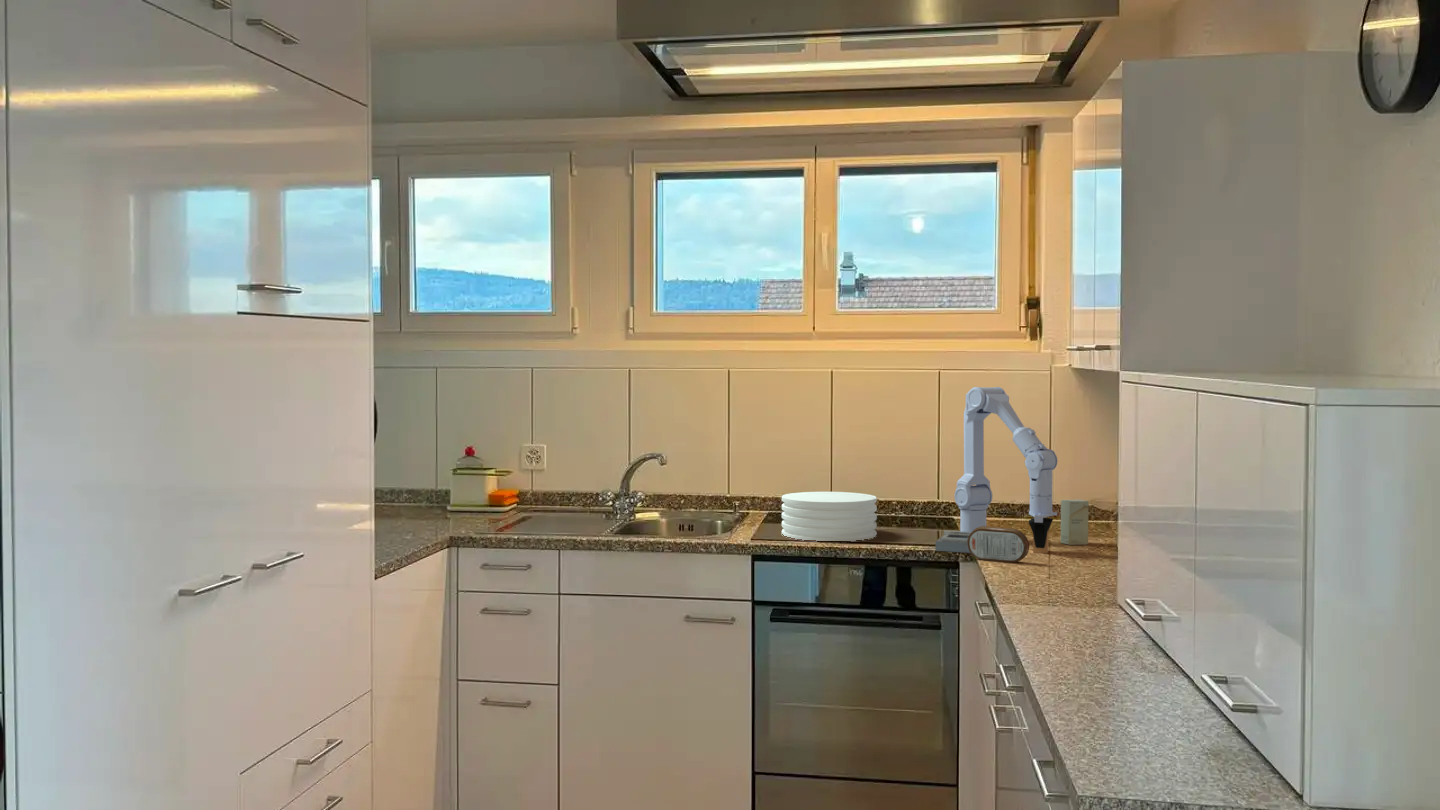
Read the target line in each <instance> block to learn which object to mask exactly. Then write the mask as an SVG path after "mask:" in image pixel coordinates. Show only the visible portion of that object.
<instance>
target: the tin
mask: <svg viewBox="0 0 1440 810" xmlns="http://www.w3.org/2000/svg"><path fill="white" fill-rule="evenodd" d="M967 545H968V549H969V551H970V553H969V554H971V555H972V556H973V557H974V558H975V559H978V560H981V561H988V562H989V561H990V562H1002V563H1011V564H1012V563H1013V564H1014V563H1018V562H1020V561H1022V560H1023V559H1025V558H1026V557H1027V555H1028V553H1029V550H1030V543H1029V540H1028V537H1027V536H1026V534H1024V532H1022V531H1021V530H1019V529H1016V528H1009V527H998V526H997V527H996V526H988V525H986V526H981V527H978V528H976V529H974V530H973V531H972V532H971V533H970V535H969V537H968V540H967Z"/></svg>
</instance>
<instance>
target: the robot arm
mask: <svg viewBox="0 0 1440 810" xmlns="http://www.w3.org/2000/svg"><path fill="white" fill-rule="evenodd" d="M991 414H994V415H997V417H999V419H1000V420H1001V421H1002V423H1004V425H1005V426H1006V427H1007V429H1009V430H1010V432H1011V433H1012V434H1013V436H1012V441H1013V443H1014V444H1015V446H1016V447H1017V448H1018V450H1019V451H1020V452H1021V454H1022V455H1023V456H1024V458H1025V460H1024V464H1025V465H1024V466H1025V468H1026V469H1027V474H1028V478H1029V511H1028V515H1029V516H1031V517H1032V518H1030V519H1029V520H1028V525H1029V526H1030V528H1031V531H1032V534H1033V535H1032V536H1034V541H1035V546H1036V548H1044V547H1045V543H1046V537H1047V532H1048V533H1049V532H1050V528H1051V524H1052V522H1053V521H1054V518H1051V517H1053V516H1057V515H1058V512H1057V511H1056V512H1055V511H1053V484H1054V483H1053V480H1054V478H1053V470H1054V471H1055V469H1056V468H1057V465H1058V457H1057V455H1056V453H1055V451H1054V450H1053V449H1051V448H1047V446H1046V445H1045V444H1044V443H1042V441H1041V440H1040V439H1039V437H1038V436H1037V435H1036V434H1037V433H1036V430H1034V429H1032V428H1030V427H1025V425H1024V424H1023V423H1022V421H1021V419H1020V417H1019V416H1018V414H1017V413H1016V411H1015V410H1014V408H1013V407H1012V405H1011V403H1010V396H1009V395H1008V394H1007V393H1006V391H1005V390H1004V388H1002V387H1000V386H995V387H988V386H987V387H985V386H984V387H981V386H979V387H978V386H975V387H972V388H971V389H969V390H968V392H967V393H966V394H965V408H964V411H963V475H962V476H961V477H960V478H959V479H958V480H957V481H956V488H955V491H954V502H955V504H956V506H957V507H958V509H960V514H959V516H960V518H959V520H960V521H959V523H960V524H959V525H960V526H959V527H960V530H959V531H967V532H972V531H973V530H974V529H976V528H978V527H981V526H987V510H988V509H989V505H990V504H991V503H992V501H993V491H992V490H991V489H992V488H991V481H990V480H989V478H987V476H985V468H984V467H985V466H984V465H985V456H984V455H985V454H984V452H985V449H984V446H985V445H984V443H985V440H984V436H985V434H984V431H985V430H984V425H985V424H984V421H985V419H986V418H988V416H989V415H991Z"/></svg>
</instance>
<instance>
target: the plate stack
mask: <svg viewBox="0 0 1440 810" xmlns="http://www.w3.org/2000/svg"><path fill="white" fill-rule="evenodd" d="M877 499H878V497H877V496H876V495H873V494H869V493H868V494H867V493H861V492H860V493H859V492H848V491H847V492H846V491H802V492H792V493H791V492H790V493H785V494H783V495H781V501H782V504H781V510H782V512H781V519H782V521H781V527H782V530H781V535H782V534H783V535H784V536H787V537H791V538H795V539H794V540H797V539H802V540H801V541H804V540H816V541H815V542H817V541H851V542H857V541H856V540H862V541H865V540H864V539H868V540H870V539H869V538H872V539H874V538H873V537H875V536H876V535H878V533H877V531H876V530H877V528H878V527H877V526H878V525H877V522H876V521H877V519H878V517H877V516H878V515H877V513H876V512H877V510H878V508H877V504H876V503H877ZM783 535H782V536H783ZM784 536H783V537H784ZM787 537H786V538H787ZM876 537H877V536H876ZM876 537H875V538H876ZM791 538H790V539H791Z"/></svg>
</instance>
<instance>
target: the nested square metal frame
mask: <svg viewBox="0 0 1440 810" xmlns="http://www.w3.org/2000/svg"><path fill="white" fill-rule="evenodd" d="M970 533H971V532H967V531H960V530H947V529H946V530H944V531H943V535H942V536H940V537H939V538H938V539H937V540H936V541H935V552H948V553H964V554H971V553H970V551H969V549H968V545H967V540H968V537H969V535H970Z"/></svg>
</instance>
